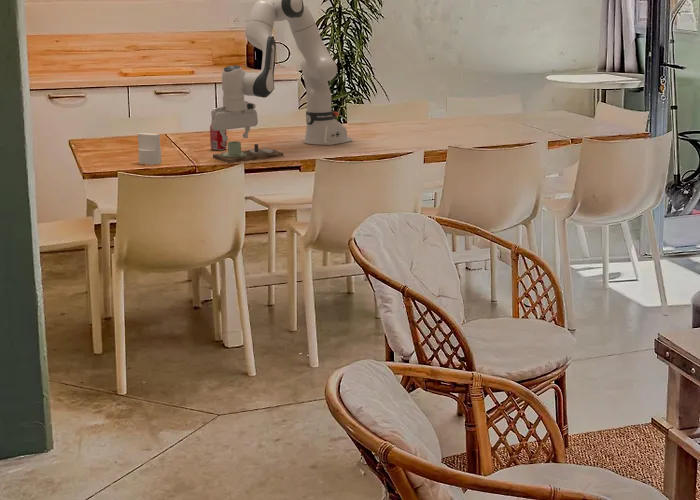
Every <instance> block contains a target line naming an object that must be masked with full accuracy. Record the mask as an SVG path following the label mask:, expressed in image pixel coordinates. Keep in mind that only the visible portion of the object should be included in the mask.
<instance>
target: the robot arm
mask: <svg viewBox="0 0 700 500" xmlns="http://www.w3.org/2000/svg"><path fill="white" fill-rule="evenodd" d="M248 15H249V16H248V18H247V22H246V26H245V29H244V36H245V38H246V40H247V42H249V44H251V45H252V46H253V47H255V48H257V49H258V50H260V51H262V60H261V69H260V71H258V72H254V71H253V72H252V71H246V70H243V68H242V67H241V66H240V65H238V64H233V65H232V64H231V65H227V66H226V67H224V68H223V69H222V74H221V88H222V89H221V90H222V92H223V94H222V107H221V106H220V107H215V108H213V109H212V110H211V124H210V125H211V127H212V129H213V130H215V131H220V133H221V135H222V136H223V141H229V138H228V135H226V136H225V134H224V133H225V130H226V131H227V130H234V129H235V130H236V129H242V128H243V129H244V133H242V137H243V139H247V138H248V137H249V132H250V131H251V127H257V125H258V122H259V120H258V112H257V111H256V106H257V105H256V104H255V103H253V102H250V101H246V100H245V96H246V97H247V96H251V97H258V98H262V99H263V98H264V99H266V98H268V97H269V96H270V95H271V94H272V92H273V91H274V89H275V79H274V77H275V76H274V75H275V65H276V63H275V62H276V54H277V53H276V49H277V48H276V47H277V43H276V40H275V38H273V29H274V25H275V22H282V21H285V20H286V21H287V22H288V25H289V28H290V31H291V34H292V36H293V39H294V41H295V44H296V47H297V49H298V50H299V51H300V52H301V55H302V56H303V59H302V60H301V62H300V68H301V69H300V70H301V72H302V75H303V81H304V86H305V91H306V111H305V122H306V129H305V135H304V139H303V143H305V144H308V145H324V146H332V145H338V144H343V143H350V142H353V138H352V137H349V136H348V130H347V128H346V126H345V125H343V124H342V123H341V122H339V121H338V120H337V119H336V117H339V115H340V113H339V111H333V110H332V92H331V89H330V87H329V82H330V81H331V80H333V79H334V78H335V77H336V76H337V75H338V65H337V63H336V62H335V61H334V59H333V58H332V55H331V54H330V52H329V50H328V48H327V47H326V45H325V43H324V42H323V40H322V37H321V35H320V32H319V29H318V26H317V24H316V21H315V19H314V16H313V14H312V12H311V11H310V9H309V6H308V5H307V4H306V3H305V2H304V1H303V0H256V1H255V2H254V4H253V5H252V8H251V10H250V13H249V14H248Z"/></svg>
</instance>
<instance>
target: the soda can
mask: <svg viewBox="0 0 700 500" xmlns="http://www.w3.org/2000/svg"><path fill="white" fill-rule="evenodd" d="M224 134H225V136H227V130H225V133H224ZM209 138H210V139H209V140H210V149H212V151H216V150H218V151H219V150H220V151H224V150H225V149H227V148H228V142H227V141H228V140H227V141H223V136H222V135H221V133H220V131H215V130H213V129H212V127H211V124H210V126H209ZM218 151H217V152H218Z"/></svg>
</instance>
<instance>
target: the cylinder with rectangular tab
mask: <svg viewBox="0 0 700 500" xmlns="http://www.w3.org/2000/svg"><path fill="white" fill-rule="evenodd" d="M160 135H161V134H160V133H150V132H139V133H137V142H138V148H137V150H138V151H137V152H138V164H139V163H140V164H139V165H141V164H149V165H148V166H156V165H155V164H157V165H160V163H161V164H162V149H161V136H160ZM153 164H154V165H153Z"/></svg>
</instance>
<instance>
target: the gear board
mask: <svg viewBox="0 0 700 500" xmlns="http://www.w3.org/2000/svg"><path fill="white" fill-rule="evenodd" d="M283 157H284V152H281V151H278V150H276V149H275V148H273V149H272V148H268V147H266V148H265V147H264V148H259V144H258V143H256V144H255V143H254V148H252V149H247V150H241V154H240V155H228V152H221V153H214V154H212V158H213V159H214V158H215V159H214V160H217V159H218V160H217V161H220V160H221V162H223V161H224V162H223V163H226V162H227V164H235V162H236V163H242V162H241V161H244V162H250V161H249V160H252V161H260V160H267V159H274V158H283ZM258 159H259V160H258Z"/></svg>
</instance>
